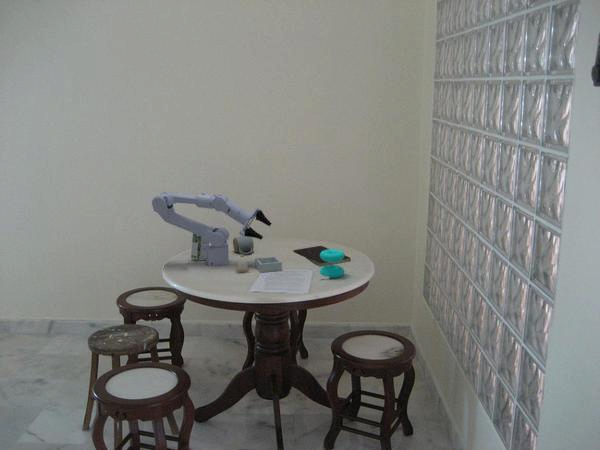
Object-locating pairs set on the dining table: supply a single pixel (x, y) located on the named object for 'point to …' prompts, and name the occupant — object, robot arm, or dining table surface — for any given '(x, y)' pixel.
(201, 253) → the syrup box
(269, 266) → the pale grey open tray
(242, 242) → the ceramic mug
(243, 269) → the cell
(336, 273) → the donuts
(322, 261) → the hardcover book
